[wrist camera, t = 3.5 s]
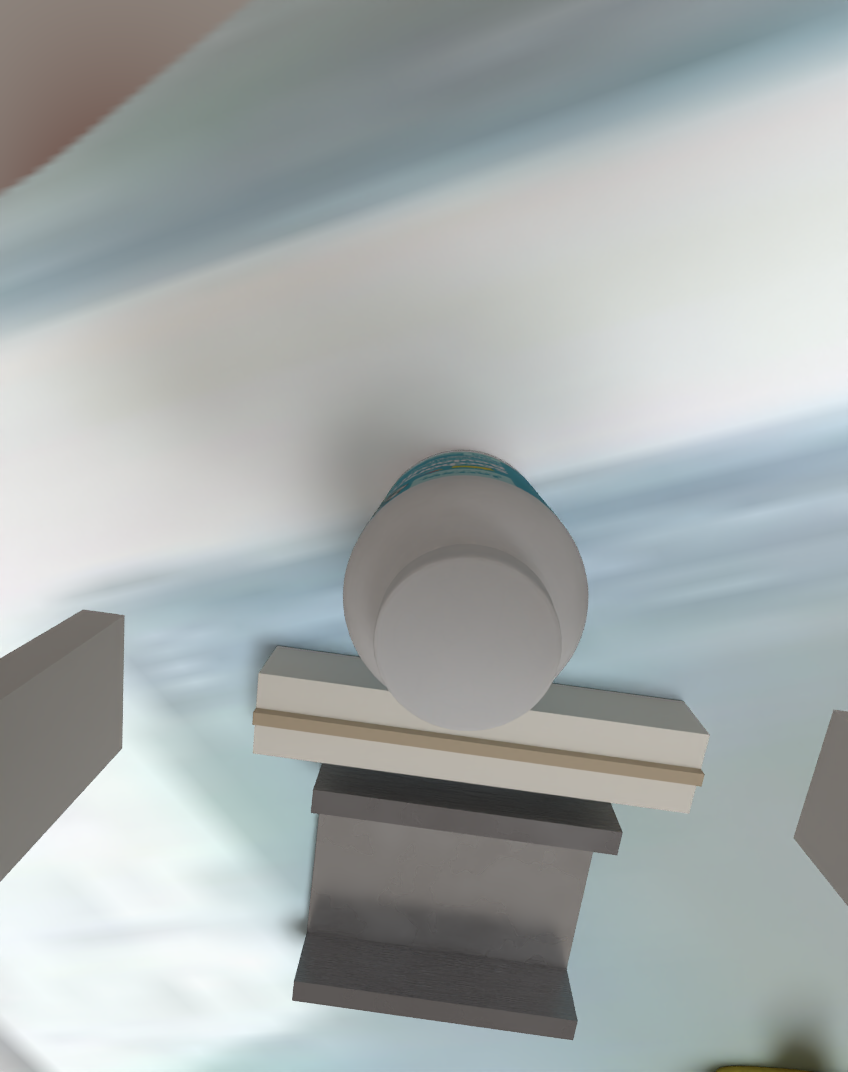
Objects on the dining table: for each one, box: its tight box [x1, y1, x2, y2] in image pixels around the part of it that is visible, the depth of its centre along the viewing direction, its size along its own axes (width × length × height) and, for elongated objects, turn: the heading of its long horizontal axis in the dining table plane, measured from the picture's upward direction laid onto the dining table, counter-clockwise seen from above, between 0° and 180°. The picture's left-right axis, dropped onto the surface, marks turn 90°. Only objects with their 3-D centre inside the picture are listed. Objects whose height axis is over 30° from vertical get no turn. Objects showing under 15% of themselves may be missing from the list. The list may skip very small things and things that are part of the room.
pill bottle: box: [343, 450, 588, 731], centre depth 21 cm, size 8×7×14 cm
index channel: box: [292, 763, 622, 1040], centre depth 30 cm, size 12×14×4 cm
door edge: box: [252, 646, 710, 813], centre depth 28 cm, size 4×20×3 cm, turn 83°
